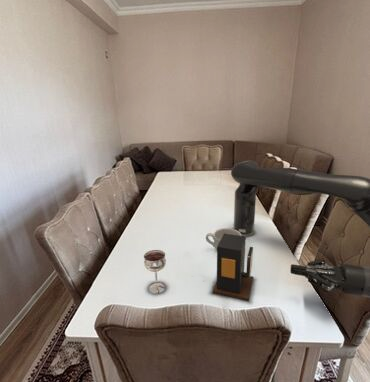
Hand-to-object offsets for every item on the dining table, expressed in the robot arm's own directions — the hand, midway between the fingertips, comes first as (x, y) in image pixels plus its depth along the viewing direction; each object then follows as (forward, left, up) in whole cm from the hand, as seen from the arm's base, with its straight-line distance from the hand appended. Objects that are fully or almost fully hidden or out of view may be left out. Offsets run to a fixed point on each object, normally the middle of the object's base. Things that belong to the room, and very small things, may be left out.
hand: (290, 268), depth 71 cm
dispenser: (0, -17, -10) cm, 20 cm away
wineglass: (+9, -39, -10) cm, 41 cm away
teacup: (-20, -24, -10) cm, 33 cm away
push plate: (0, -12, -4) cm, 12 cm away
